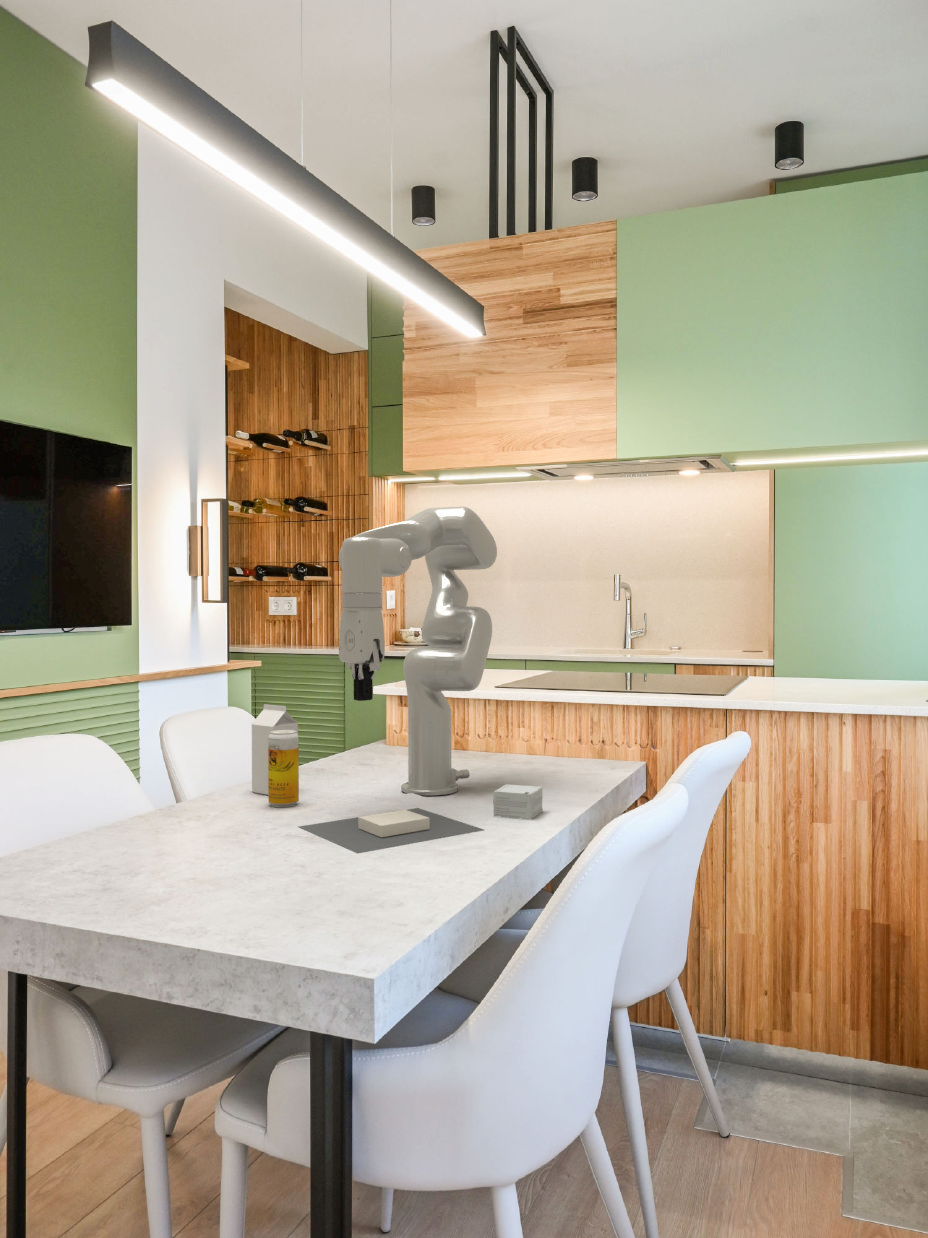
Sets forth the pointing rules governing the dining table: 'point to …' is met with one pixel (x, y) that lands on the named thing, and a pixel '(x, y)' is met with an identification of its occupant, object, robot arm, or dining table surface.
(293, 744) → the beer can
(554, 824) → the dining table surface
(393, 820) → the tile
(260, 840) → the dining table surface
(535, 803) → the small box
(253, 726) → the milk carton
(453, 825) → the mat
